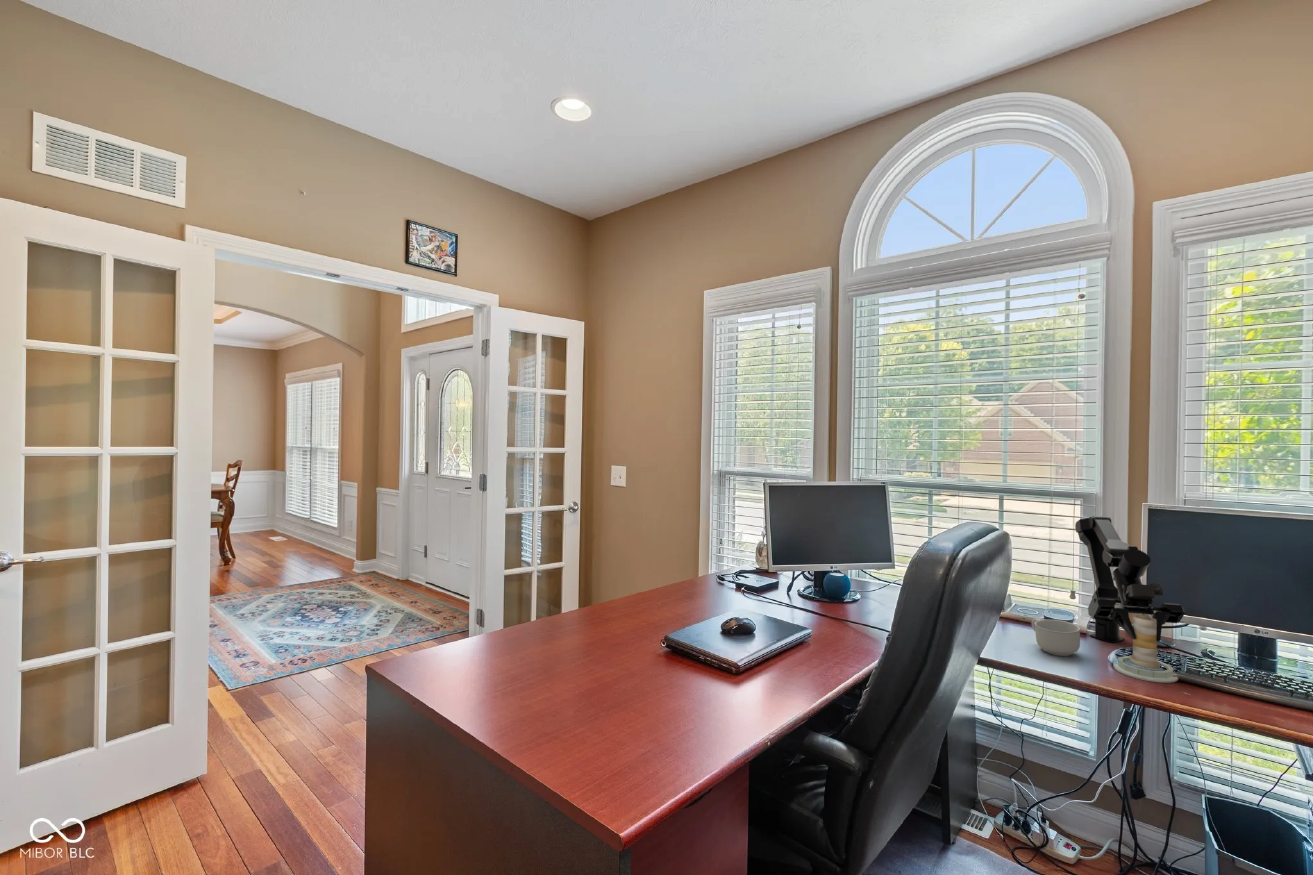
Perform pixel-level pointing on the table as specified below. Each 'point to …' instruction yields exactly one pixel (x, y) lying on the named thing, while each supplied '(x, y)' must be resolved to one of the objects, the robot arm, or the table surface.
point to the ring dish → (1145, 672)
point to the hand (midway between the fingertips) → (1146, 639)
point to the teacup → (1057, 636)
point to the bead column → (1145, 642)
